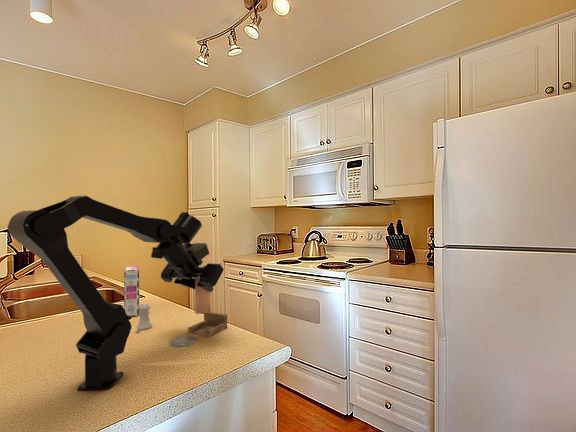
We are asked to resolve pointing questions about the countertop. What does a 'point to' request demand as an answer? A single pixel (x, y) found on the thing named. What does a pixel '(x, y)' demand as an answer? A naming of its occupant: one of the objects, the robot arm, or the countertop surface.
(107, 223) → the robot arm
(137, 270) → the candy bar box
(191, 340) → the slate coaster
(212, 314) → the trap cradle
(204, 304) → the spice jar
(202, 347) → the countertop surface
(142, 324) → the rook chess piece
